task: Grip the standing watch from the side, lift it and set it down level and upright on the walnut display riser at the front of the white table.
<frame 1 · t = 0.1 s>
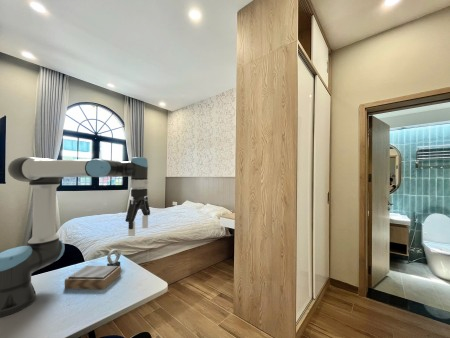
hand: (138, 231, 96), 28 cm above the table, tool pointing down, fingers open, 13 cm apart
riser: (94, 281, 102), on the table
watch: (113, 268, 117), on the table
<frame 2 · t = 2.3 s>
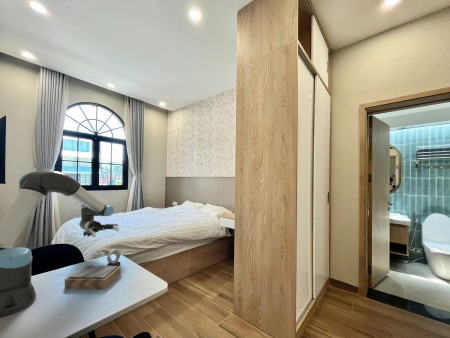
hand: (107, 231, 122), 20 cm above the table, tool horizontal, fingers open, 13 cm apart
nothing on the table moved.
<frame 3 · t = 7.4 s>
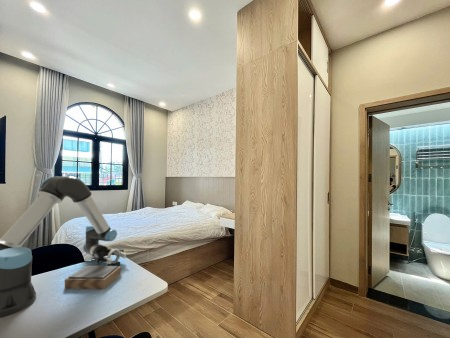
hand: (118, 258, 115), 7 cm above the table, tool horizontal, fingers closed on watch, 8 cm apart
watch: (113, 268, 117), on the table, touching gripper
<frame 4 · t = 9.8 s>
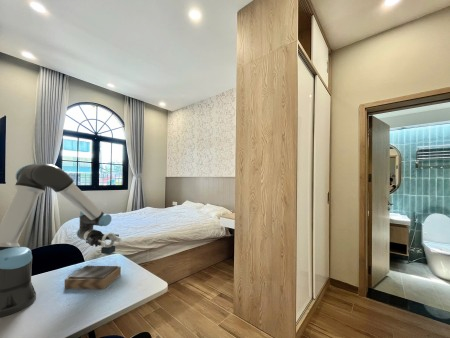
hand: (112, 242, 110), 18 cm above the table, tool horizontal, fingers closed on watch, 8 cm apart
watch: (108, 252, 112), point 11 cm above the table, touching gripper
when the fingers open (13 cm above the table, at t = 12.1 s): watch drops 1 cm, resting on riser.
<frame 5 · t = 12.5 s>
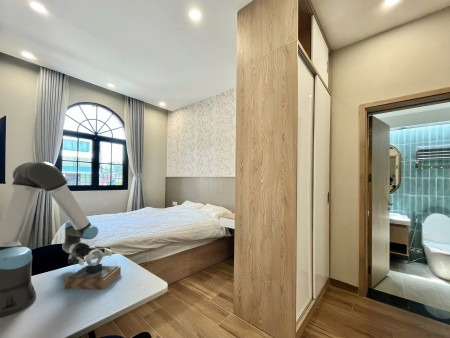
hand: (97, 257, 101), 13 cm above the table, tool horizontal, fingers open, 13 cm apart
watch: (94, 271, 102), point 5 cm above the table, touching riser
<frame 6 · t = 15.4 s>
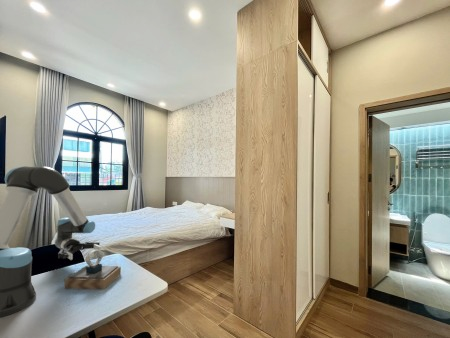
hand: (86, 252, 108), 13 cm above the table, tool horizontal, fingers open, 13 cm apart
nothing on the table moved.
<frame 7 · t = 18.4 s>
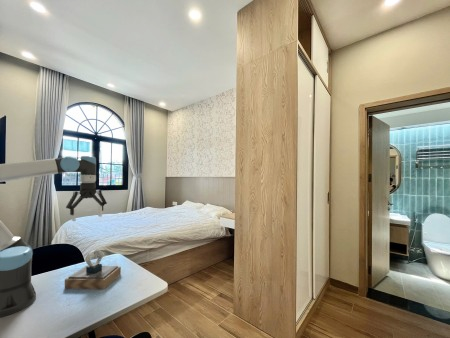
hand: (87, 218, 114), 31 cm above the table, tool pointing down, fingers open, 13 cm apart
nothing on the table moved.
at the end: watch inside the target area on the riser (0.1 cm from its centre), point 5.1 cm above the riser's base; watch tilted 0°; the gripper is holding nothing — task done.
